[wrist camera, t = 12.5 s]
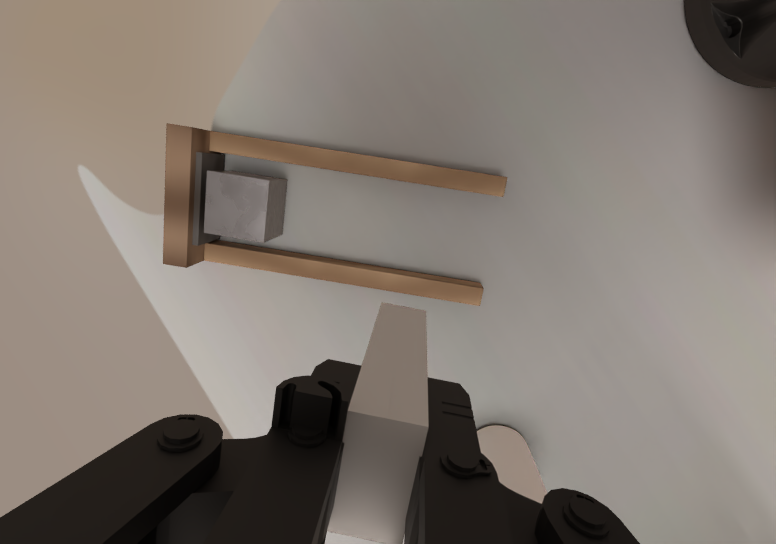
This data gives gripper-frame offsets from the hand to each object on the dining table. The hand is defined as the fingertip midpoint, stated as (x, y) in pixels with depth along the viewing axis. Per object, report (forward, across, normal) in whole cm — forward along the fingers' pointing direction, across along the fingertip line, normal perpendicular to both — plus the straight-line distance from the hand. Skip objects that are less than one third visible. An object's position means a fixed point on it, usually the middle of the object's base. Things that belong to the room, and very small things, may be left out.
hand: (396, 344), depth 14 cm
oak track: (+25, -6, 0) cm, 25 cm away
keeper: (+25, -14, 0) cm, 29 cm away
